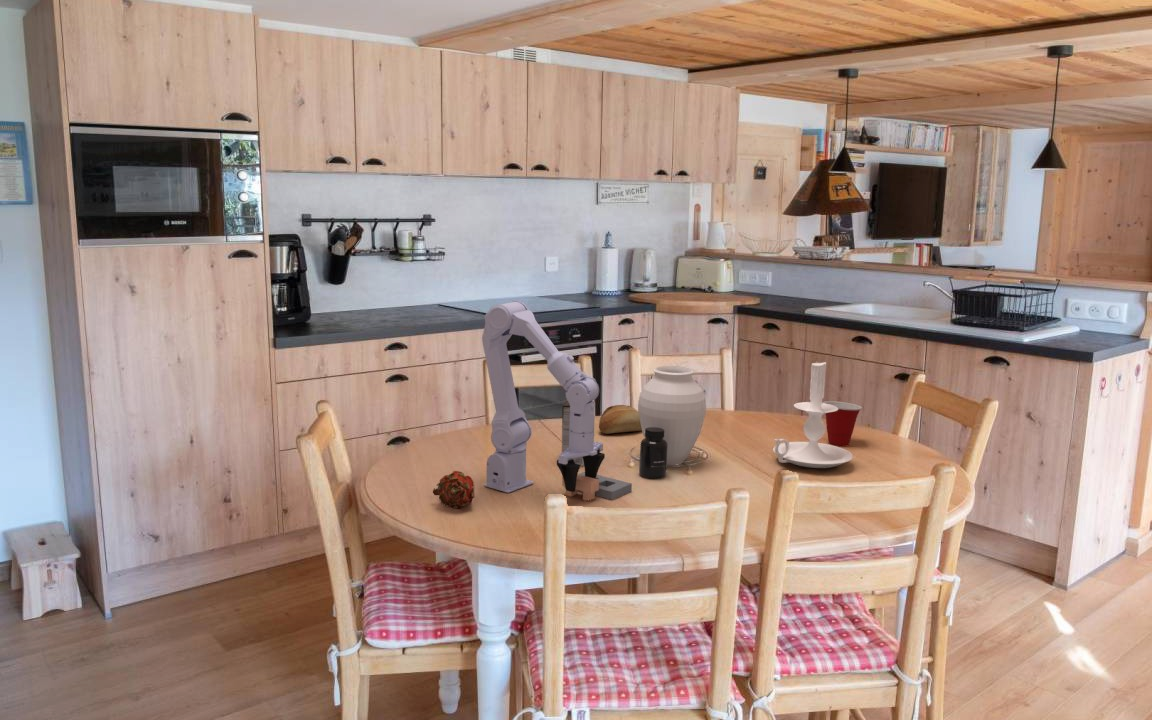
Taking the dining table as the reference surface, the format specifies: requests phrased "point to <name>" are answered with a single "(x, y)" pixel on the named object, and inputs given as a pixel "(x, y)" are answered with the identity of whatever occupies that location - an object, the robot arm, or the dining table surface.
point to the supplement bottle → (653, 454)
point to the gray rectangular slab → (611, 487)
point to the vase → (673, 409)
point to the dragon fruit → (455, 490)
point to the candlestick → (813, 430)
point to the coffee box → (567, 430)
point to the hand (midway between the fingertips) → (580, 486)
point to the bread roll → (619, 419)
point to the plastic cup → (841, 422)
